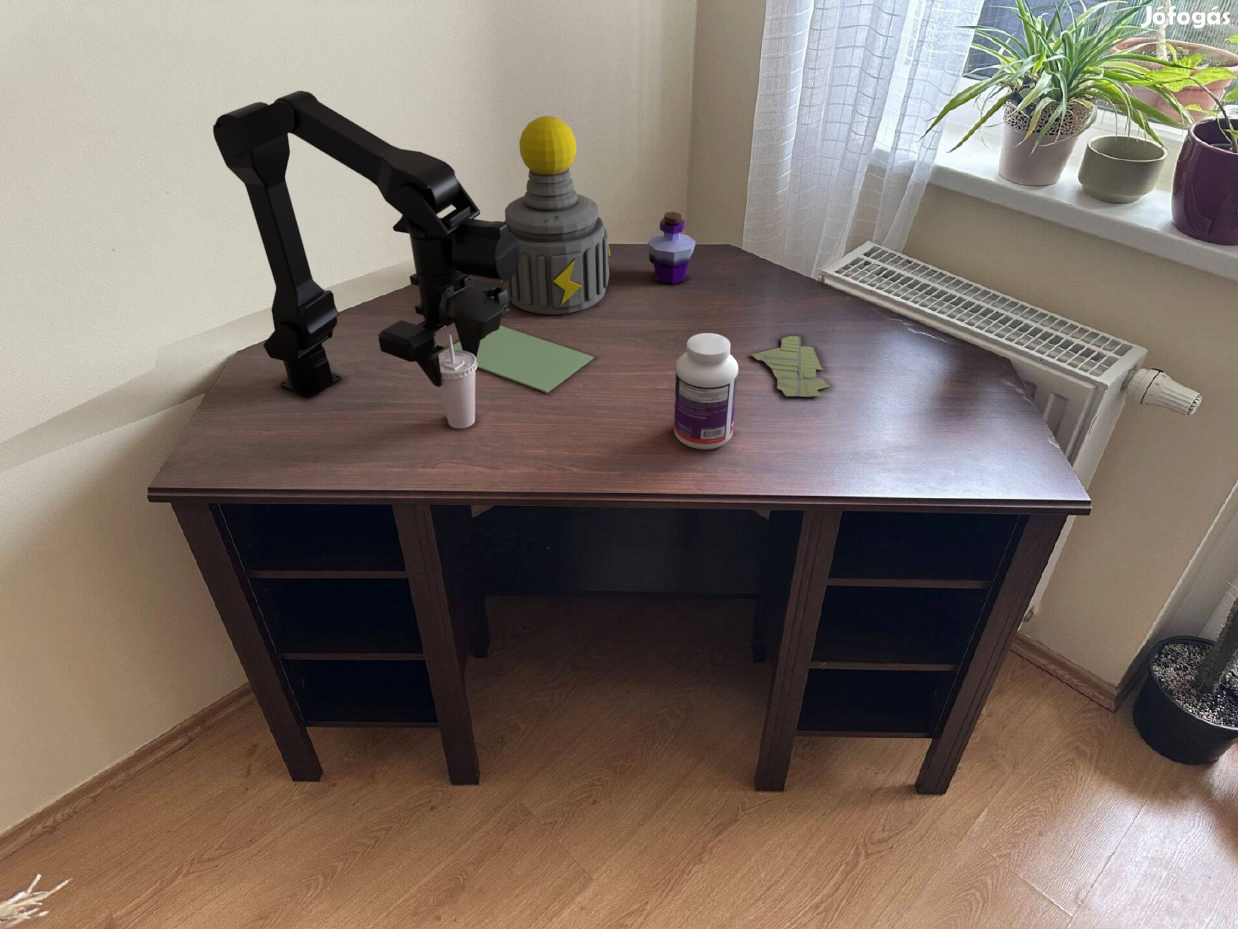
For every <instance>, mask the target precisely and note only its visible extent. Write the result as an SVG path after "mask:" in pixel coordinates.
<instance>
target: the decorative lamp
mask: <svg viewBox="0 0 1238 929" xmlns="http://www.w3.org/2000/svg"><path fill="white" fill-rule="evenodd" d="M518 143H519V144H518V145H519V153H520V157H521V159H522V161H523V164H524V165H525V166H526V167H527V169H529V171H528V180H527V182H526V184H525V189H526V191H525V193H524V195H523V196H521V197H518V198H516V199H514V200H512V201H511V202H509V203H508V205H507V206H506V207H505V209H504V218H505V220H504V221H503V222H506V223H507V227H508V232H510V233H512V234H513V235H514V236H515V238H516V241H517V243H519V262H518V266H517V269H516V271H515V273H514V275H513V276H512V278H511V279H510V280H507V281H503V280H500V285H501V286H503V287H504V288H506V289H507V293H508V298H509V302H510V303H511V304H513V306H515V307H516V308H519V309H521V310H522V311H525V312H527V313H528V312H529V313H532V314H536V315H546V316H560V315H569V314H573V313H578V312H582V311H585V310H587V309H589V308H591V307H594V306H595V305H596V304H598V302H600V301H601V300H602V299H603V298H604V296H605V294H606V290H607V287H608V285H609V278H610V270H609V268H610V267H609V260H610V258H611V250H610V245H609V239H608V238H609V236H608V231H607V228H606V227H605V223H604V220H603V219H602V218H601V217H600V214H599V207H598V205H597V204H598V203H596V202H595V201H594V200H593V199H591V198H590V197H588V196H584V195H583V194H582V195H581V194H579V193H577V191H576V190H575V185H574V184H575V183H574V181H573V179H572V177H571V176H572V174H571V171H570V167H571V166H572V164H573V163H574V161H575V158H576V154H577V140H576V138H575V135H574V133H573V131H572V129H571V127H570V126H569V125H568V124H567V123H566V121H563V120H561V119H559V118H557V117H555V116H552V115H543V116H539V117H536V118H534V119H533V120H532V121H529V122H528V124H527V125H526V126H525V128H523V130H522V132H521V134H520V138H519V142H518Z"/></svg>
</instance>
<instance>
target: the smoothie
mask: <svg viewBox="0 0 1238 929" xmlns="http://www.w3.org/2000/svg"><path fill="white" fill-rule="evenodd" d="M446 338H447V345H448V346H447V347H448V348H449V351H445V350H444V351H445V352H443V351H442V353H440V354H439V363H440V371H441V386H440V387H437V386H436V387H437V390H438V395H439V398H440V400H441V403H442V407H443V410H444V413H445V416H446V420H447V422H448V426H450V427H451V428H453V429H458V430H460V429H467V428H469V427H471V426H472V425H474V424H475V421H476V370H477V369H478V368H477V361H476V357H475V356H474V355H473V354H472V353H470V352H467V351H463V350H453V345H454V344H453V339H452V333H449V332H448V333H446Z"/></svg>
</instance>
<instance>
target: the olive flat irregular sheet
mask: <svg viewBox="0 0 1238 929" xmlns="http://www.w3.org/2000/svg"><path fill="white" fill-rule="evenodd" d="M780 342H781V344H780V347H776V348H773V349H767V350H763V351H759V352H754V353H750V355H751V356H752V357H753V358H754V360H755V359H756V360H757V361H763V362H764V363H765V364H766V365H767V366H768V367H769V368H770V369H771V371H772V373H773V375H774V377H775V378H776V379H777V385H776V386H777V390H779V391H780V390H781V391H782V393H783V394H784V396H785V397H805V398H806V397H807V398H811V397H822V396H823V394H822V393H821V392H819V391H818V390H822V389H826V388H830V387H831V386H830V385H829V384H828V383H827V381H825V379H823V378H822V377H821V376H818V377H817V370H821V371H824V368H823V367H822V366H821V363H820V360H819V358H818V356H817V353H816V351H815V348H814V347H813V346H803V345H802V337H801V336H797V335H796V336H795V335H788V336H785V337H782V338H781V341H780Z"/></svg>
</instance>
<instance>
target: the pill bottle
mask: <svg viewBox="0 0 1238 929" xmlns="http://www.w3.org/2000/svg"><path fill="white" fill-rule="evenodd" d="M738 379H739V364H738V362H737V360H736V359H735V357H734V356H733V355H732V354H731V342H730V340H729V339H728V338H727V337H725V336H723V335H721V334H717V333H711V332H703V333H698V334H694V335H692V336H691V337H689V338H688V340H687V342H686V351H685V352H684V353H682V354H681V355H680V357H678V359H677V361H676V365H675V384H674V387H675V388H674V415H673V417H674V418H673V432H674V435H675V437H676V438H677V439H678V440H679V442H681V443H682V444H683V445H685V446H687V447H690V448H692V449H698V450H714V449H717V448H721V447H722V446H724V445H725V444H727V443H728V442H729V441H730V440H731V439H732V436H733V433H734V426H735V414H736V413H735V412H736V401H737V388H738Z"/></svg>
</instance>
